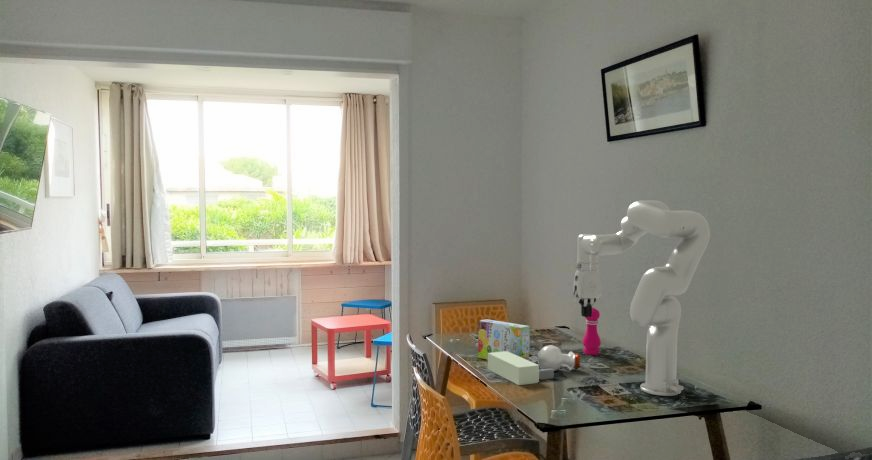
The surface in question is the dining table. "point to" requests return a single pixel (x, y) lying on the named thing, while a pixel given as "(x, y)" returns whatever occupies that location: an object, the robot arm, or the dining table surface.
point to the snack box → (503, 338)
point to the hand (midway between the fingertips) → (586, 316)
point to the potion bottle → (557, 358)
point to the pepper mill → (592, 334)
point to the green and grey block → (517, 368)
